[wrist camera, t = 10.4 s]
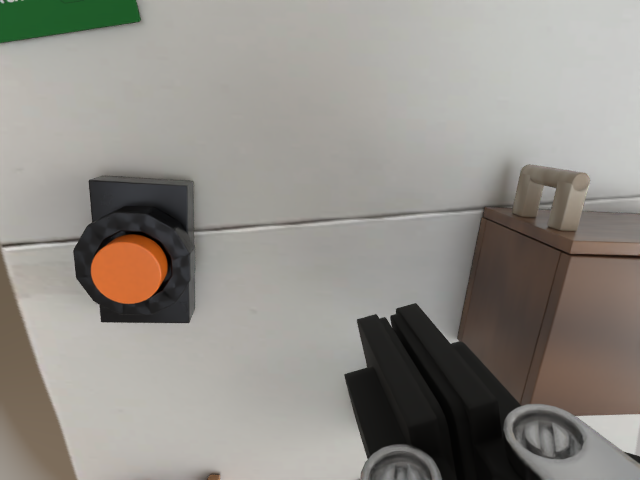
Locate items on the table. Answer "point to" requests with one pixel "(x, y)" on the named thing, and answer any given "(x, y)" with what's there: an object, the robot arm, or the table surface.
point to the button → (129, 269)
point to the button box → (152, 222)
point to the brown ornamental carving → (214, 477)
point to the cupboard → (555, 322)
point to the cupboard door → (567, 215)
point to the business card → (61, 16)
